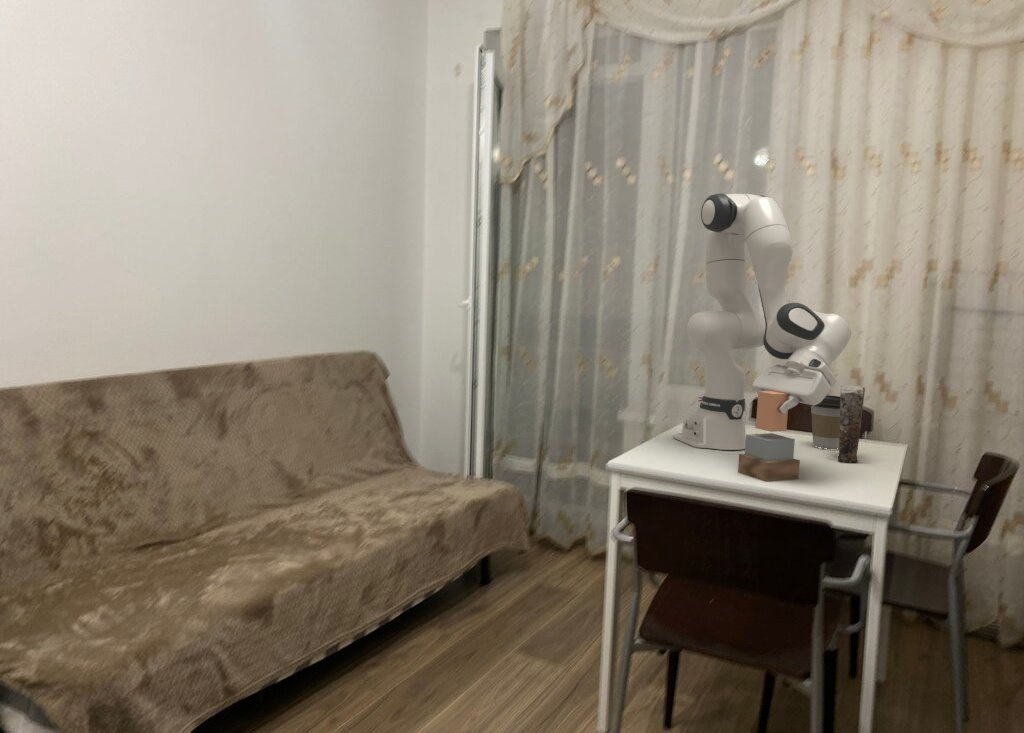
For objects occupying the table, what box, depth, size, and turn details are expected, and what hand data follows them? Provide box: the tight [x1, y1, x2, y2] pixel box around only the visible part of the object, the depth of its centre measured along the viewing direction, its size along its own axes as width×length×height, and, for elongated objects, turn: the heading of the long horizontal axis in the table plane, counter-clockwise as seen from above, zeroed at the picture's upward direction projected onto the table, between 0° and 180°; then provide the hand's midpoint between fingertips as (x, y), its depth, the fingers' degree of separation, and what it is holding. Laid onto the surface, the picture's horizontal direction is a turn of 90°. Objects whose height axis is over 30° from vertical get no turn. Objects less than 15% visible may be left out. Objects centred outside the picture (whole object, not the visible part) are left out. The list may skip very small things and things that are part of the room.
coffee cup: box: [810, 394, 840, 449], centre depth 233 cm, size 11×11×15 cm
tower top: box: [744, 432, 795, 461], centre depth 193 cm, size 8×8×5 cm
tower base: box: [737, 453, 801, 483], centre depth 193 cm, size 10×10×5 cm
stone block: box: [837, 384, 866, 463], centre depth 217 cm, size 13×7×20 cm, turn 162°
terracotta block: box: [755, 391, 789, 433], centre depth 191 cm, size 5×5×9 cm
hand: (770, 409), depth 191 cm, fingers closed on terracotta block, 5 cm apart
